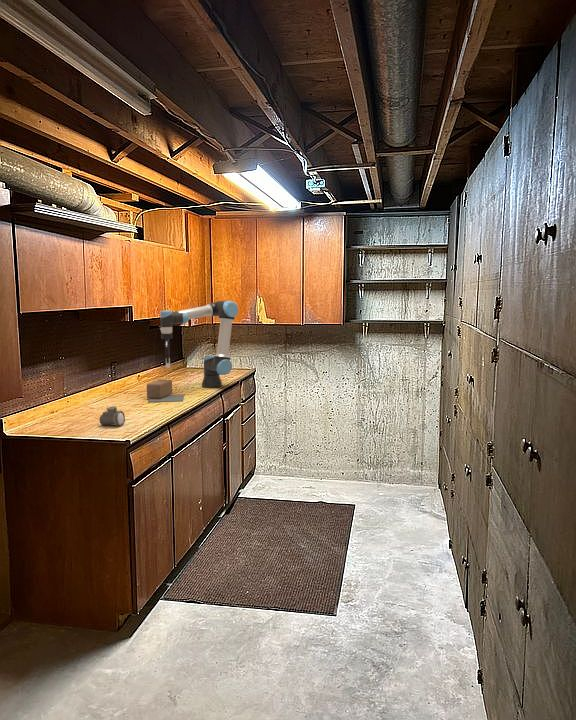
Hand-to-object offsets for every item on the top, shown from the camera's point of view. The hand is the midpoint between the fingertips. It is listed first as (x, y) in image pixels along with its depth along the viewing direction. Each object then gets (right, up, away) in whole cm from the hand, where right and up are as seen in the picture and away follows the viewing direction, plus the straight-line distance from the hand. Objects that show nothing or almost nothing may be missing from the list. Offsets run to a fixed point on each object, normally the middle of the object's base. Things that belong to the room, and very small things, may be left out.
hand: (168, 367), depth 378 cm
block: (-2, -13, +3) cm, 14 cm away
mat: (+2, -21, -12) cm, 24 cm away
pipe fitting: (-11, -30, -87) cm, 92 cm away
